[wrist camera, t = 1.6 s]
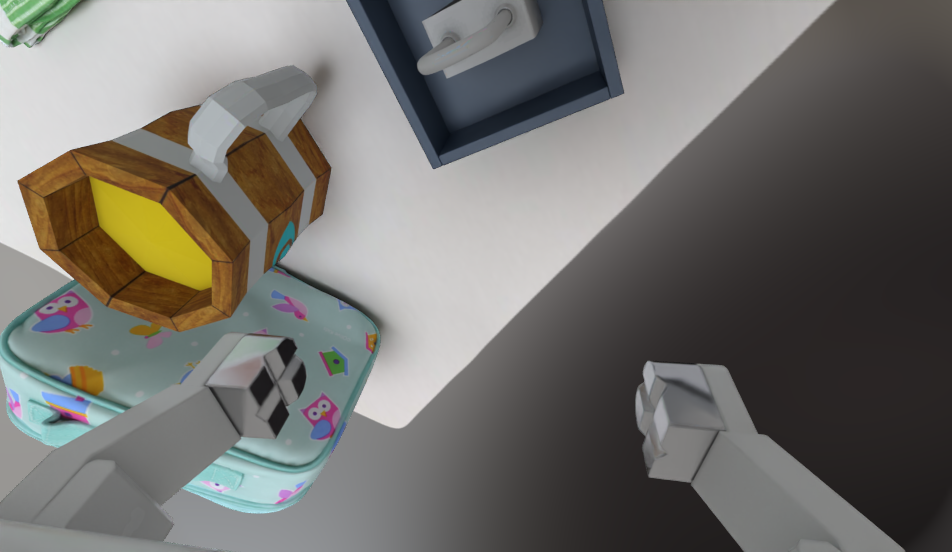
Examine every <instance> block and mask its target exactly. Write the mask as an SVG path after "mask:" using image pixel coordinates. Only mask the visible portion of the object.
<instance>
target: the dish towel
mask: <svg viewBox="0 0 952 552" xmlns="http://www.w3.org/2000/svg"><path fill="white" fill-rule="evenodd" d="M79 1H80V0H0V41H1V42H2V43H3V44H4V45H5V46H6V47H15V46H17V45H19V44H22V43H24V44H25V45H26V46H27V47H29V48H30V47H32V46H33V45H34V44H36V43H39V42H40V41H41V40H42V39H43V37H44V35H45V34H46V33H47V32H48V31H49V30H51V29H52V28H53V27H54V26H55V25H56V24H58V23H59V22H60V21H61V20H63V19H64V18H65V16H66V15H67V14H68V12H69V11H70V10H71V9H72V8H73V7H74V6H75V5H76V4H77V3H78V2H79Z"/></svg>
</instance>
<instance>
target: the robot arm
mask: <svg viewBox="0 0 952 552" xmlns="http://www.w3.org/2000/svg"><path fill="white" fill-rule="evenodd" d="M297 349H298V347H297V345H296V343H295V341H294V338H291V337H286V336H275V335H265V334H255V333H241V332H229V333H227V334H225V335H223V337H222V338H221V339H220V340H219V341H218V342H217V343H216V345H215V346H214V347H213V348H212V349H211V350H210V351H209V353H208V354H207V355H206V356H205V357H204V358H203V359H202V361H201V362H200V363H199V364H198V365H197V366H196V368H195V369H194V370H193V371H192V372H191V373H190V374H189V376H188V377H187V378H186V379H185V380H184V381H183V382H182V384H174V385H172V386H170V387H168V388H166V389H165V390H163V391H161V392H159V393H157V394H155V395H154V396H152V397H150V398H148V399H146V400H145V401H143V402H141V403H139V404H137V405H135V406H134V407H132V408H130V409H128V410H126V411H125V412H123V413H121V414H119V415H117V416H115V417H114V418H112V419H110V420H108V421H106V422H105V423H103V424H101V425H99V426H97V427H95V428H94V429H92V430H90V431H88V432H86V433H84V434H83V435H81V436H79V437H77V438H75V439H74V440H72V441H70V442H68V443H66V444H64V445H63V446H61V447H59V448H57V449H55V450H54V451H52V452H51V453H50V454H49V455H48V456H47V457H46V458H45V459H44V460H43V461H42V462H41V463H40V464H39V465H38V466H36V467H35V468H34V469H33V470H32V471H31V472H30V473H29V474H28V475H27V476H26V477H25V478H24V479H23V480H22V481H21V482H20V483H19V484H18V485H17V486H16V487H15V488H14V489H13V490H12V491H11V492H10V493H9V494H8V495H7V496H6V497H5V498H4V499H3V500H2V501H1V502H0V552H233V551H226V550H219V549H212V548H204V547H196V546H190V545H183V544H175V543H168V542H163V541H164V539H165V538H166V536H167V535H168V533H169V532H170V530H171V529H172V527H173V525H174V524H173V518H172V517H171V516H170V515H169V514H168V513H167V512H166V511H165V510H164V509H163V508H162V507H161V505H162V504H164V503H165V502H166V501H167V500H168V499H170V498H171V497H172V496H173V495H174V494H175V493H177V492H178V491H179V490H181V489H182V488H183V487H184V486H185V485H187V484H188V483H189V482H190V481H191V480H193V479H194V478H195V477H196V476H197V475H199V474H200V473H201V472H202V471H203V470H205V469H206V468H207V467H208V466H209V465H211V464H212V463H213V462H214V461H216V460H217V459H218V458H219V457H220V456H222V455H223V454H224V453H225V452H226V451H228V450H229V449H230V448H231V447H232V446H234V445H235V444H236V443H237V442H238V441H240V440H241V437H249V438H263V439H276V438H277V436H278V434H279V432H280V431H281V429H282V427H283V425H284V424H285V422H286V420H287V418H288V417H289V415H290V414H289V409H288V406H289V405H290V404H292V403H293V402H295V401H296V400H298V399H299V397H300V395H301V393H302V391H303V390H304V386H305V382H306V378H307V374H306V367H305V364H304V361H303V360H302V359H301V358H299V357H298V356H297V355H296V354H295V352H296V350H297ZM642 373H643V376H644V381H645V382H644V383H642V384H641V385H639V386H638V390H637V394H636V401H635V412H636V420H637V425H638V429H639V430H640V431H641V432H642V433H643V434H644V435H645V436H646V437H645V440H644V443H643V446H642V449H643V454H644V459H645V463H646V468H647V472H648V477H652V478H660V479H667V480H675V481H683V482H691V483H692V484H691V485H692V486H693V488H694V489H695V490H696V491H697V492H698V494H699V495H700V496H701V498H702V499H703V500H704V502H705V503H706V504H707V505H708V506H709V508H710V509H711V510H712V512H713V513H714V514H715V515H716V517H717V518H718V519H719V520H720V522H721V523H722V524H723V525H724V527H725V528H726V529H727V530H728V532H729V533H730V534H731V535H732V537H733V538H734V539H735V540H736V542H737V543H738V544H739V545H740V547H741V548H742V549H743V551H744V552H905V551H904V549H903V548H902V547H900V546H899V545H898V544H897V543H896V542H895V541H893V540H892V539H891V538H890V537H888V536H887V535H886V534H885V533H884V532H883V531H881V530H880V529H879V528H878V527H876V526H875V525H874V524H873V523H872V522H870V521H869V520H868V519H866V517H864V516H863V515H862V514H861V513H859V512H858V511H857V510H856V509H855V508H854V507H852V506H851V505H850V504H849V503H847V502H846V501H845V500H844V499H843V498H842V497H840V496H839V495H838V494H836V492H834V491H833V490H832V489H831V488H829V487H828V486H827V485H826V484H825V483H823V482H822V481H821V480H820V479H819V478H817V477H816V476H815V475H814V474H812V473H811V472H810V471H809V470H808V469H806V468H805V467H804V466H803V465H802V464H801V463H799V462H798V461H797V460H796V459H795V458H793V457H792V456H791V455H790V454H789V453H787V452H786V451H785V450H784V449H782V448H781V447H780V446H779V445H778V444H776V443H775V442H774V441H773V440H772V439H770V438H769V437H768V436H767V435H761V434H758V433H757V431H756V429H755V427H754V425H753V422H752V420H751V419H750V416H749V414H748V412H747V410H746V407H745V405H744V403H743V401H742V399H741V397H740V395H739V393H738V391H737V389H736V386H735V384H734V382H733V380H732V378H731V376H730V374H729V372H728V370H727V369H726V368H725V367H724V366H723V365H708V364H693V363H677V362H659V361H648V362H647V363H646V364H645V366H644V369H643V372H642Z"/></svg>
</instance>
